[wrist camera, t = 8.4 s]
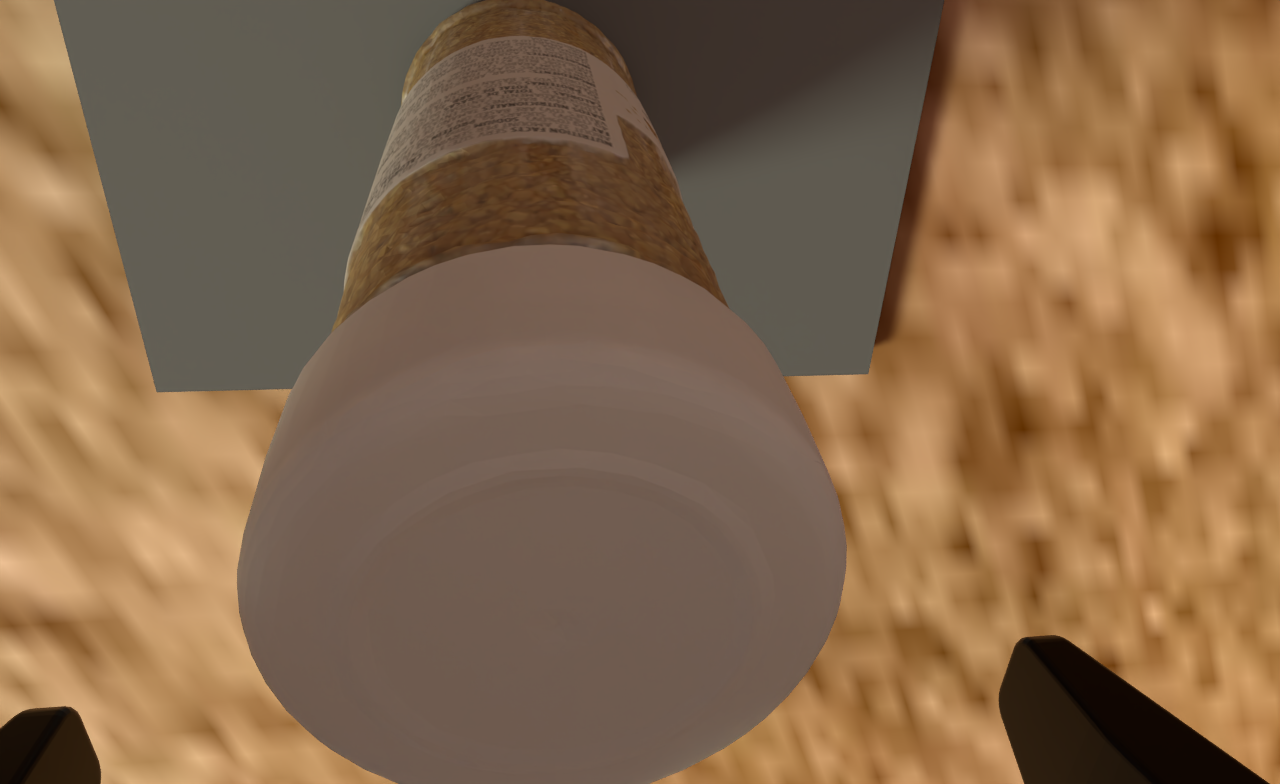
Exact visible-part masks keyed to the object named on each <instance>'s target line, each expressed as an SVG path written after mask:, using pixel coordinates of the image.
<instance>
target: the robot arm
mask: <svg viewBox="0 0 1280 784" xmlns="http://www.w3.org/2000/svg"><path fill="white" fill-rule="evenodd" d="M999 708H1000V713H1001V717H1002V720H1003V723H1004V726H1005V729H1006V732H1007V735H1008V738H1009V741H1010V743H1011V746H1012V749H1013V752H1014V755H1015V758H1016V761H1017V764H1018V767H1019V770H1020V773H1021V776H1022V778H1023V781H1024V784H1269V783H1268V782H1267V781H1265V780H1264V779H1262V778H1261V777H1259V776H1258V775H1257V774H1255V773H1254V772H1252V771H1251V770H1250V769H1248V768H1247V767H1245V766H1244V765H1243V764H1241V763H1240V762H1238V761H1237V760H1236V759H1234V758H1233V757H1231V756H1230V755H1229V754H1227V753H1226V752H1224V751H1223V750H1222V749H1220V748H1219V747H1217V746H1216V745H1215V744H1213V743H1212V742H1210V741H1209V740H1208V739H1206V738H1205V737H1203V736H1202V735H1200V734H1199V733H1198V732H1196V731H1195V730H1193V729H1192V728H1191V727H1189V726H1188V725H1186V724H1185V723H1184V722H1182V721H1181V720H1179V719H1178V718H1177V717H1175V716H1174V715H1172V714H1171V713H1170V712H1168V711H1167V710H1165V709H1164V708H1163V707H1161V706H1160V705H1158V704H1157V703H1156V702H1154V701H1153V700H1151V699H1150V698H1148V697H1147V696H1146V695H1144V694H1143V693H1141V692H1140V691H1139V690H1137V689H1136V688H1134V687H1133V686H1132V685H1130V684H1129V683H1127V682H1126V681H1125V680H1123V679H1122V678H1120V677H1119V676H1118V675H1116V674H1115V673H1113V672H1112V671H1111V670H1109V669H1108V668H1106V667H1105V666H1104V665H1102V664H1101V663H1099V662H1098V661H1097V660H1095V659H1094V658H1092V657H1091V656H1089V655H1088V654H1087V653H1085V652H1084V651H1082V650H1081V649H1080V648H1078V647H1077V646H1075V645H1074V644H1073V643H1071V642H1070V641H1068V640H1067V639H1065V638H1063V637H1060V636H1056V635H1048V636H1034V637H1025V638H1022V639H1020V640H1019V641H1018V642H1017V643H1016V645H1015V647H1014V650H1013V653H1012V655H1011V658H1010V661H1009V664H1008V667H1007V670H1006V673H1005V676H1004V679H1003V682H1002V685H1001V687H1000V691H999ZM100 783H101V769H100V764H99V760H98V758H97V755H96V753H95V751H94V748H93V746H92V744H91V741H90V739H89V736H88V734H87V732H86V729H85V727H84V724H83V722H82V720H81V717H80V715H79V714H78V712H77V711H76V710H74V709H73V708H71V707H66V706H63V707H49V708H35V709H28V710H25V711H22V712H21V713H19V714H17V715H16V716H14V717H13V718H12V719H10V720H9V721H8V722H7V723H6V724H5V725H4V726H2V727H1V728H0V784H100Z"/></svg>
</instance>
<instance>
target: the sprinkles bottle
mask: <svg viewBox="0 0 1280 784" xmlns="http://www.w3.org/2000/svg"><path fill="white" fill-rule="evenodd" d="M846 548H847V545H846V537H845V529H844V523H843V518H842V514H841V509H840V505H839V500H838V496H837V494H836V491H835V488H834V486H833V483H832V481H831V478H830V475H829V473H828V470H827V468H826V466H825V464H824V461H823V459H822V457H821V455H820V453H819V450H818V448H817V446H816V444H815V441H814V439H813V437H812V435H811V432H810V430H809V428H808V426H807V423H806V421H805V419H804V417H803V415H802V413H801V411H800V409H799V407H798V405H797V403H796V401H795V399H794V397H793V395H792V393H791V391H790V389H789V387H788V385H787V383H786V381H785V379H784V377H783V375H782V373H781V371H780V370H779V368H778V366H777V364H776V362H775V360H774V359H773V357H772V356H771V354H770V352H769V351H768V349H767V348H766V346H765V344H764V343H763V342H762V341H761V340H760V338H759V337H758V336H757V335H756V334H755V333H754V332H753V330H752V329H751V328H750V327H749V326H748V325H747V323H746V322H744V321H743V320H742V319H741V318H740V317H738V316H737V315H736V314H735V313H734V312H732V311H731V310H730V309H729V307H728V305H727V303H726V300H725V298H724V296H723V294H722V292H721V290H720V288H719V285H718V282H717V279H716V275H715V272H714V271H713V269H712V267H711V265H710V264H709V261H708V258H707V256H706V254H705V253H704V250H703V248H702V245H701V242H700V239H699V237H698V234H697V233H696V231H695V229H694V227H693V225H692V221H691V218H690V216H689V214H688V212H687V210H686V208H685V206H684V204H683V201H682V196H681V192H680V189H679V185H678V182H677V179H676V177H675V174H674V172H673V170H672V167H671V165H670V163H669V161H668V158H667V156H666V154H665V152H664V149H663V147H662V145H661V143H660V141H659V139H658V136H657V134H656V132H655V130H654V128H653V126H652V124H651V122H650V120H649V118H648V115H647V114H646V112H645V110H644V108H643V106H642V104H641V102H640V101H639V99H638V98H637V94H636V91H635V88H634V85H633V80H632V78H631V76H630V73H629V70H628V68H627V65H626V63H625V61H624V59H623V57H622V56H621V54H620V53H619V51H618V50H617V48H616V47H615V46H614V44H613V43H612V42H611V41H610V40H609V39H608V38H607V37H606V36H605V35H604V34H603V33H602V32H601V31H600V30H599V29H598V28H597V27H596V26H595V25H594V24H592V23H590V22H589V21H587V20H586V19H584V18H583V17H582V16H581V15H579V14H578V13H576V12H574V11H572V10H570V9H568V8H565V7H562V6H560V5H558V4H556V3H552V2H548V1H545V0H485V1H482V2H478V3H475V4H471V5H468V6H466V7H465V8H463V9H462V10H460V11H459V12H457V13H455V14H453V15H451V16H450V17H448V18H447V19H445V20H444V21H442V22H441V23H439V25H438V26H437V27H436V28H435V30H434V31H433V32H432V34H431V35H430V36H429V37H428V38H427V39H426V41H425V42H424V43H423V44H422V46H421V47H420V48H419V50H418V51H417V53H416V55H415V57H414V59H413V61H412V63H411V65H410V68H409V70H408V72H407V75H406V78H405V83H404V87H403V92H402V101H401V107H400V110H399V112H398V114H397V116H396V119H395V122H394V125H393V127H392V130H391V133H390V136H389V138H388V141H387V144H386V147H385V149H384V152H383V155H382V158H381V161H380V164H379V167H378V170H377V173H376V176H375V179H374V182H373V185H372V188H371V191H370V194H369V197H368V200H367V203H366V206H365V209H364V212H363V215H362V218H361V221H360V224H359V227H358V230H357V233H356V236H355V239H354V242H353V245H352V248H351V251H350V254H349V257H348V262H347V268H346V273H345V280H344V292H343V296H342V300H341V303H340V307H339V311H338V315H337V319H336V321H335V323H334V325H333V328H332V332H331V334H330V335H329V336H328V337H327V339H326V340H325V341H324V342H323V344H322V345H321V346H320V348H319V349H318V350H317V351H316V353H315V354H314V355H313V356H312V358H311V359H310V360H309V361H308V363H307V364H306V365H305V366H304V368H303V370H302V371H301V373H300V375H299V377H298V379H297V381H296V383H295V385H294V387H293V388H292V390H291V392H290V394H289V396H288V399H287V401H286V404H285V407H284V409H283V412H282V415H281V417H280V420H279V423H278V426H277V428H276V431H275V434H274V436H273V439H272V442H271V444H270V447H269V450H268V452H267V455H266V458H265V461H264V465H263V468H262V472H261V475H260V479H259V482H258V485H257V489H256V492H255V496H254V499H253V503H252V506H251V510H250V513H249V516H248V520H247V523H246V527H245V530H244V534H243V540H242V545H241V551H240V557H239V563H238V569H237V590H238V603H239V613H240V617H241V621H242V626H243V630H244V633H245V636H246V639H247V642H248V645H249V649H250V652H251V655H252V657H253V659H254V661H255V663H256V665H257V667H258V669H259V671H260V673H261V674H262V676H263V678H264V680H265V682H266V684H267V685H268V686H269V688H270V689H271V691H272V692H273V693H274V695H275V696H276V697H277V699H278V700H279V701H280V703H281V704H282V705H283V707H284V708H285V709H286V711H287V712H288V713H290V714H291V715H292V716H293V717H294V718H295V719H296V720H297V721H298V722H299V723H300V724H301V725H302V726H303V727H304V728H305V729H306V730H307V731H309V732H310V733H311V734H312V735H313V736H314V737H315V738H317V739H318V740H319V741H320V742H322V743H323V744H324V745H326V746H327V747H328V748H330V749H331V750H333V751H334V752H336V753H338V754H339V755H341V756H343V757H344V758H346V759H348V760H350V761H351V762H353V763H355V764H356V765H358V766H360V767H361V768H363V769H365V770H367V771H370V772H372V773H375V774H377V775H379V776H382V777H384V778H387V779H389V780H391V781H394V782H396V783H398V784H649V783H652V782H654V781H657V780H659V779H662V778H664V777H667V776H669V775H672V774H674V773H677V772H679V771H682V770H684V769H686V768H688V767H690V766H692V765H694V764H696V763H698V762H699V761H701V760H703V759H705V758H707V757H709V756H711V755H712V754H714V753H716V752H718V751H720V750H722V749H724V748H725V747H727V746H728V745H730V744H731V743H733V742H734V741H736V740H737V739H739V738H740V737H742V736H743V735H745V734H746V733H748V732H749V731H750V730H751V729H753V728H754V727H755V726H756V725H758V724H759V723H760V722H761V721H763V720H764V719H765V718H766V717H767V716H768V715H769V714H770V713H771V712H772V711H773V710H774V709H775V708H776V707H777V706H778V705H779V704H780V703H781V702H782V701H783V700H784V699H785V698H786V697H787V696H788V695H789V694H790V693H791V692H792V690H793V689H794V688H795V687H796V686H797V684H798V683H799V682H800V681H801V679H802V678H803V677H804V676H805V674H806V673H807V672H808V670H809V669H810V667H811V665H812V664H813V662H814V660H815V659H816V657H817V655H818V654H819V652H820V650H821V649H822V647H823V646H824V644H825V642H826V640H827V638H828V635H829V633H830V631H831V628H832V626H833V623H834V621H835V618H836V616H837V612H838V609H839V605H840V600H841V595H842V590H843V584H844V578H845V571H846Z"/></svg>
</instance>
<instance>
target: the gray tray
mask: <svg viewBox="0 0 1280 784" xmlns="http://www.w3.org/2000/svg"><path fill="white" fill-rule="evenodd" d="M482 1H485V0H54V2H55V6H56V10H57V14H58V18H59V22H60V25H61V29H62V33H63V37H64V41H65V44H66V48H67V52H68V56H69V60H70V63H71V67H72V71H73V75H74V79H75V82H76V86H77V90H78V94H79V98H80V102H81V105H82V109H83V113H84V117H85V121H86V124H87V128H88V132H89V136H90V140H91V143H92V147H93V151H94V155H95V159H96V163H97V166H98V170H99V174H100V178H101V182H102V185H103V189H104V193H105V197H106V201H107V204H108V208H109V212H110V216H111V220H112V223H113V227H114V231H115V235H116V239H117V243H118V246H119V250H120V254H121V258H122V262H123V265H124V269H125V273H126V277H127V281H128V284H129V288H130V292H131V296H132V300H133V303H134V307H135V311H136V315H137V319H138V323H139V326H140V330H141V334H142V338H143V342H144V345H145V349H146V353H147V357H148V361H149V364H150V368H151V372H152V376H153V380H154V384H155V387H156V391H157V392H185V391H225V390H264V389H292V388H293V387H294V385H295V383H296V381H297V379H298V377H299V375H300V373H301V371H302V370H303V368H304V366H305V365H306V364H307V363H308V361H309V360H310V359H311V358H312V356H313V355H314V354H315V353H316V351H317V350H318V349H319V348H320V346H321V345H322V344H323V342H324V341H325V340H326V339H327V337H328V336H329V335H330V334H331V332H332V328H333V325H334V323H335V321H336V319H337V315H338V311H339V307H340V303H341V300H342V296H343V292H344V280H345V273H346V268H347V262H348V257H349V254H350V251H351V248H352V245H353V242H354V239H355V236H356V233H357V230H358V227H359V224H360V221H361V218H362V215H363V212H364V209H365V206H366V203H367V200H368V197H369V194H370V191H371V188H372V185H373V182H374V179H375V176H376V173H377V170H378V167H379V164H380V161H381V158H382V155H383V152H384V149H385V147H386V144H387V141H388V138H389V136H390V133H391V130H392V127H393V125H394V122H395V119H396V116H397V114H398V112H399V110H400V107H401V101H402V92H403V87H404V83H405V78H406V75H407V72H408V70H409V68H410V65H411V63H412V61H413V59H414V57H415V55H416V53H417V51H418V50H419V48H420V47H421V46H422V44H423V43H424V42H425V41H426V39H427V38H428V37H429V36H430V35H431V34H432V32H433V31H434V30H435V28H436V27H437V26H438V25H439V23H441V22H442V21H444V20H445V19H447V18H448V17H450V16H451V15H453V14H455V13H457V12H459V11H460V10H462V9H463V8H465V7H466V6H468V5H471V4H475V3H478V2H482ZM545 1H548V2H552V3H556V4H558V5H560V6H562V7H565V8H568V9H570V10H572V11H574V12H576V13H578V14H579V15H581V16H582V17H583V18H584V19H586V20H587V21H589V22H590V23H592V24H594V25H595V26H596V27H597V28H598V29H599V30H600V31H601V32H602V33H603V34H604V35H605V36H606V37H607V38H608V39H609V40H610V41H611V42H612V43H613V44H614V46H615V47H616V48H617V50H618V51H619V53H620V54H621V56H622V57H623V59H624V61H625V63H626V65H627V68H628V70H629V73H630V76H631V78H632V80H633V85H634V88H635V91H636V94H637V98H638V99H639V101H640V102H641V104H642V106H643V108H644V110H645V112H646V114H647V115H648V118H649V120H650V122H651V124H652V126H653V128H654V130H655V132H656V134H657V136H658V139H659V141H660V143H661V145H662V147H663V149H664V152H665V154H666V156H667V158H668V161H669V163H670V165H671V167H672V170H673V172H674V174H675V177H676V179H677V182H678V185H679V189H680V192H681V196H682V201H683V204H684V206H685V208H686V210H687V212H688V214H689V216H690V218H691V221H692V225H693V227H694V229H695V231H696V233H697V234H698V237H699V239H700V242H701V245H702V248H703V250H704V253H705V254H706V256H707V258H708V261H709V264H710V265H711V267H712V269H713V271H714V272H715V275H716V279H717V282H718V285H719V288H720V290H721V292H722V294H723V296H724V298H725V300H726V303H727V305H728V307H729V309H730V310H731V311H732V312H734V313H735V314H736V315H737V316H738V317H740V318H741V319H742V320H743V321H744V322H746V323H747V325H748V326H749V327H750V328H751V329H752V330H753V332H754V333H755V334H756V335H757V336H758V337H759V338H760V340H761V341H762V342H763V343H764V344H765V346H766V348H767V349H768V351H769V352H770V354H771V356H772V357H773V359H774V360H775V362H776V364H777V366H778V368H779V370H780V371H781V373H782V375H783V376H814V375H853V374H868V372H869V368H870V363H871V358H872V353H873V348H874V343H875V338H876V333H877V328H878V323H879V318H880V314H881V309H882V304H883V299H884V294H885V289H886V284H887V279H888V274H889V269H890V264H891V260H892V255H893V250H894V245H895V240H896V235H897V230H898V225H899V220H900V215H901V210H902V205H903V201H904V196H905V191H906V186H907V181H908V176H909V171H910V166H911V161H912V156H913V151H914V147H915V142H916V137H917V132H918V127H919V122H920V117H921V112H922V107H923V102H924V97H925V93H926V88H927V83H928V78H929V73H930V68H931V63H932V58H933V53H934V48H935V43H936V39H937V34H938V29H939V24H940V19H941V14H942V9H943V4H944V0H545Z"/></svg>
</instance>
